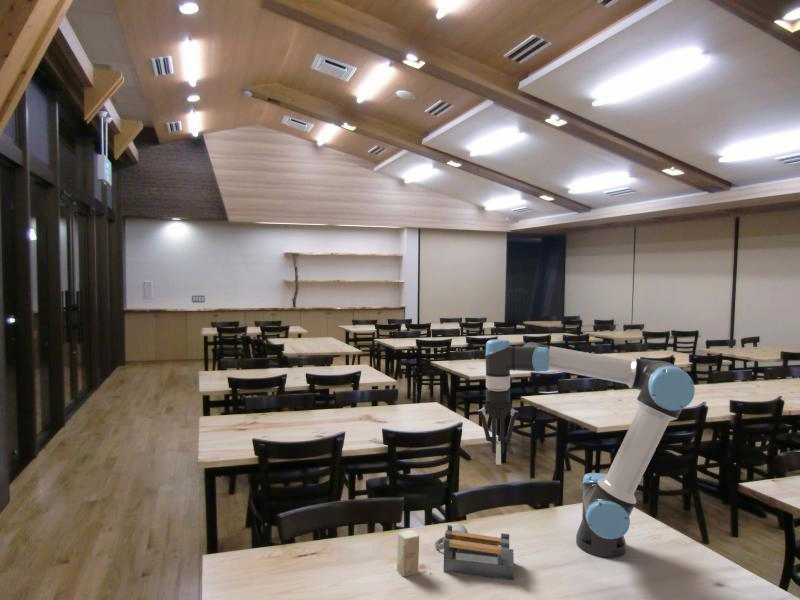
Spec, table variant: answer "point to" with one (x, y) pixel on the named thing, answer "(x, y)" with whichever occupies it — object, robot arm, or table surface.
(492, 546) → the strap near
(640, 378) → the robot arm
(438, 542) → the ceramic mug
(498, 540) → the orange long bar
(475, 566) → the gray cradle frame
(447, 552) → the lug bar
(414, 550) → the box
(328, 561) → the table surface
